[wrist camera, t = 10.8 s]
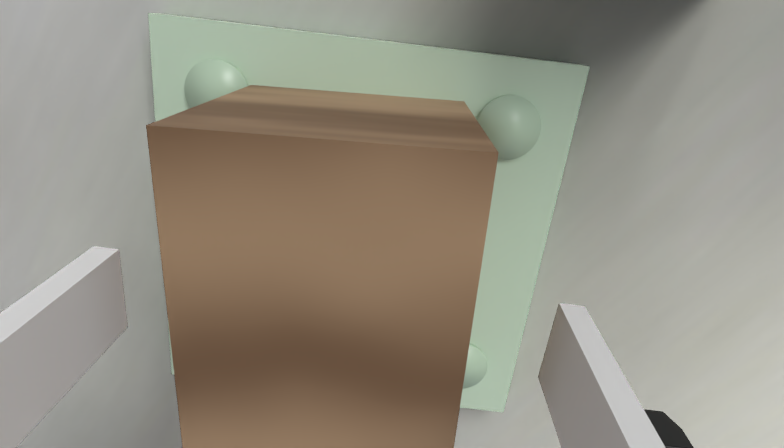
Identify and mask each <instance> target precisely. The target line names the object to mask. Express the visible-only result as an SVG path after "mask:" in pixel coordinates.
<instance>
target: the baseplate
mask: <svg viewBox="0 0 784 448" xmlns="http://www.w3.org/2000/svg"><path fill="white" fill-rule="evenodd" d="M148 19H149V34H150V50H151V65H152V81H153V96H154V112H155V122H156V121H159V120H161V119H164V118H166V117H169V116H172V115H174V114H177V113H179V112H182V111H185V110H187V109H190V108H192V107H195V106H198V105H200V104H203V103H205V102H208V101H211V100H213V99H216V98H218V97H221V96H223V95H226V94H229V93H231V92H234V91H236V90H239V89H242V88H244V87H247V86H249V85H259V86H272V87H285V88H298V89H311V90H324V91H337V92H350V93H363V94H376V95H389V96H402V97H415V98H428V99H441V100H454V101H464V102H465V103H466V105H467V106H468V108H469V109H470V111H471V112H472V114H473V115H474V117H475V118H476V120H477V121H478V123H479V124H480V126H481V127H482V129H483V130H484V132H485V133H486V135H487V136H488V138H489V139H490V141H491V142H492V143H493V145H494V146H495V148H496V149H497V151H498V152H499V154H498V160H497V167H496V173H495V180H494V186H493V193H492V200H491V206H490V213H489V219H488V226H487V232H486V239H485V245H484V252H483V258H482V265H481V271H480V278H479V285H478V291H477V298H476V304H475V311H474V317H473V324H472V330H471V337H470V343H469V350H468V357H467V363H466V370H465V376H464V383H463V389H462V396H461V402H460V408H469V409H477V410H486V411H495V412H504V408H505V404H506V400H507V396H508V392H509V388H510V384H511V380H512V376H513V372H514V368H515V364H516V360H517V356H518V352H519V348H520V344H521V340H522V336H523V332H524V328H525V324H526V320H527V316H528V312H529V308H530V304H531V300H532V296H533V292H534V288H535V284H536V280H537V276H538V272H539V268H540V264H541V260H542V256H543V252H544V248H545V244H546V240H547V236H548V232H549V228H550V224H551V220H552V216H553V212H554V208H555V204H556V200H557V196H558V192H559V188H560V184H561V180H562V176H563V172H564V168H565V164H566V160H567V156H568V152H569V148H570V144H571V140H572V136H573V132H574V128H575V124H576V120H577V116H578V112H579V108H580V104H581V100H582V96H583V92H584V88H585V84H586V80H587V76H588V72H589V68H590V67H589V66H585V65H581V64H574V63H566V62H557V61H549V60H541V59H533V58H524V57H516V56H508V55H500V54H492V53H483V52H475V51H467V50H459V49H450V48H442V47H434V46H426V45H417V44H409V43H401V42H393V41H384V40H376V39H368V38H360V37H352V36H343V35H335V34H327V33H319V32H310V31H302V30H294V29H286V28H277V27H269V26H261V25H253V24H244V23H236V22H228V21H220V20H212V19H203V18H195V17H187V16H179V15H170V14H159V13H148ZM168 329H169V323H168ZM169 345H170V360H171V374H174V367H173V358H172V349H171V340H170V332H169Z"/></svg>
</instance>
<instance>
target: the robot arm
mask: <svg viewBox="0 0 784 448" xmlns="http://www.w3.org/2000/svg"><path fill="white" fill-rule="evenodd" d="M127 327H128V323H127V314H126V305H125V296H124V288H123V279H122V270H121V261H120V252H119V249H114V248H105V247H97V246H93V247H91V248H90V249H89V250H87V251H86V252H85V253H83V254H82V255H80V256H79V257H78V258H76V259H75V260H73V261H72V262H71V263H69V264H68V265H66V266H65V267H64V268H62V269H61V270H59V271H58V272H57V273H55V274H54V275H53V276H51V277H50V278H48V279H47V280H46V281H44V282H43V283H41V284H40V285H39V286H37V287H36V288H34V289H33V290H32V291H30V292H29V293H27V294H26V295H25V296H23V297H22V298H20V299H19V300H18V301H16V302H15V303H14V304H12V305H11V306H9V307H8V308H7V309H5V310H4V311H2V312H1V313H0V448H16V447H17V446H18V445H19V444H20V443H21V442H22V441H23V440H24V439H25V438H26V437H27V436H28V434H29V433H30V432H31V431H32V430H33V429H34V428H35V427H36V426H37V425H38V424H39V423H40V421H41V420H42V419H43V418H44V417H45V416H46V415H47V414H48V413H49V412H50V411H51V410H52V408H53V407H54V406H55V405H56V404H57V403H58V402H59V401H60V400H61V399H62V398H63V397H64V395H65V394H66V393H67V392H68V391H69V390H70V389H71V388H72V387H73V386H74V385H75V384H76V382H77V381H78V380H79V379H80V378H81V377H82V376H83V375H84V374H85V373H86V372H87V371H88V369H89V368H90V367H91V366H92V365H93V364H94V363H95V362H96V361H97V360H98V359H99V358H100V357H101V355H102V354H103V353H104V352H105V351H106V350H107V349H108V348H109V347H110V346H111V345H112V344H113V342H114V341H115V340H116V339H117V338H118V337H119V336H120V335H121V334H122V333H123V332H124V331H125V329H126V328H127ZM538 378H539V381H540V384H541V387H542V390H543V393H544V396H545V399H546V402H547V405H548V408H549V411H550V414H551V417H552V420H553V423H554V426H555V429H556V432H557V435H558V438H559V441H560V444H561V447H562V448H693V446H692V444H691V443H690V441H689V440H688V438H687V437H686V435H685V433H684V432H683V430H682V429H681V428H680V427H679V426H678V425H677V424H676V423H675V422H673V421H672V420H671V419H670V418H669V417H668V416H667V415H666V414H665V413H664V412H661V411H653V410H644V409H643V407H642V405H641V404H640V402H639V400H638V398H637V397H636V395H635V393H634V391H633V390H632V388H631V386H630V384H629V383H628V381H627V379H626V377H625V376H624V374H623V372H622V370H621V369H620V367H619V365H618V363H617V362H616V360H615V358H614V356H613V355H612V353H611V351H610V349H609V348H608V346H607V344H606V342H605V341H604V339H603V337H602V335H601V334H600V332H599V330H598V328H597V327H596V325H595V323H594V321H593V320H592V318H591V316H590V314H589V313H588V311H587V309H586V307H585V306H581V305H573V304H565V303H559V305H558V308H557V312H556V315H555V319H554V322H553V326H552V330H551V333H550V337H549V340H548V344H547V347H546V351H545V354H544V358H543V361H542V365H541V368H540V372H539V375H538Z"/></svg>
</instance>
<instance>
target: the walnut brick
mask: <svg viewBox="0 0 784 448" xmlns="http://www.w3.org/2000/svg"><path fill="white" fill-rule="evenodd" d="M146 129H147V137H148V146H149V155H150V164H151V173H152V181H153V190H154V199H155V208H156V217H157V226H158V234H159V243H160V252H161V261H162V270H163V279H164V287H165V296H166V305H167V314H168V323H169V332H170V340H171V349H172V358H173V367H174V376H175V385H176V393H177V402H178V411H179V420H180V429H181V438H182V446H183V448H454V442H455V435H456V429H457V422H458V415H459V409H460V402H461V396H462V389H463V383H464V376H465V370H466V363H467V357H468V350H469V343H470V337H471V330H472V324H473V317H474V311H475V304H476V298H477V291H478V285H479V278H480V271H481V265H482V258H483V252H484V245H485V239H486V232H487V226H488V219H489V213H490V206H491V200H492V193H493V186H494V180H495V173H496V167H497V160H498V154H499V152H498V151H497V149H496V148H495V146H494V145H493V143H492V142H491V141H490V139H489V138H488V136H487V135H486V133H485V132H484V130H483V129H482V127H481V126H480V124H479V123H478V121H477V120H476V118H475V117H474V115H473V114H472V112H471V111H470V109H469V108H468V106H467V105H466V103H465V102H464V101H454V100H441V99H428V98H415V97H402V96H389V95H376V94H363V93H350V92H337V91H324V90H311V89H298V88H285V87H272V86H259V85H249V86H247V87H244V88H242V89H239V90H236V91H234V92H231V93H229V94H226V95H223V96H221V97H218V98H216V99H213V100H211V101H208V102H205V103H203V104H200V105H198V106H195V107H192V108H190V109H187V110H185V111H182V112H179V113H177V114H174V115H172V116H169V117H166V118H164V119H161V120H159V121H156V122H153V123H151V124H148V125H146Z"/></svg>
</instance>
